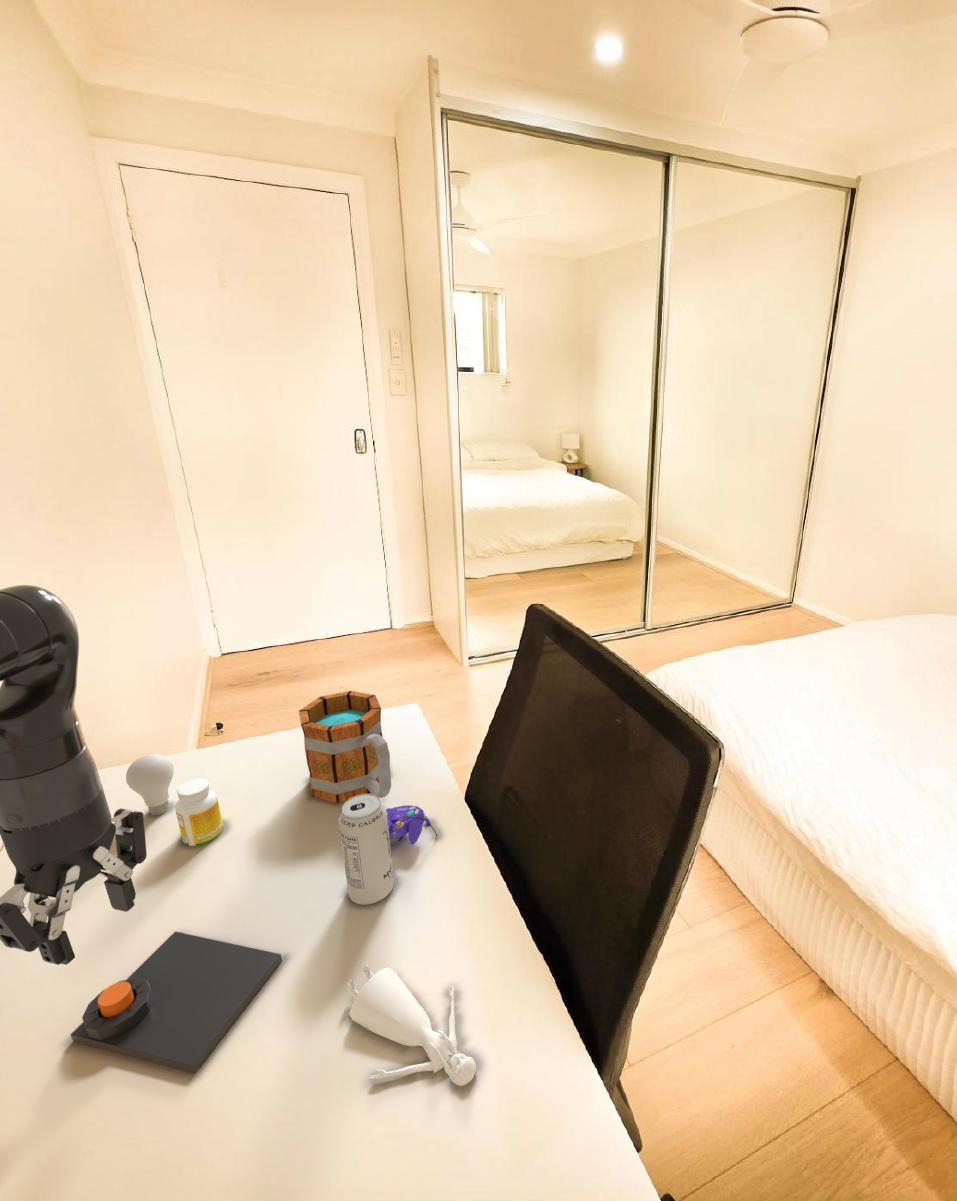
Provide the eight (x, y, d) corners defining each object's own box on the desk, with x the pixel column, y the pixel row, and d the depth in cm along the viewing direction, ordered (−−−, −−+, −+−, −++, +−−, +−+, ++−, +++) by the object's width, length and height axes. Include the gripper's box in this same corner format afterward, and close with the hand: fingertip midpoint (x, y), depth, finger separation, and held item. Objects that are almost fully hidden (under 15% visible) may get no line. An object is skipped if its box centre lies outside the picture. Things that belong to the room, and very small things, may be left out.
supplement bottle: (175, 849, 90) (162, 797, 86) (198, 825, 95) (186, 775, 91) (211, 850, 90) (198, 798, 86) (232, 826, 95) (221, 776, 92)
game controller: (346, 842, 87) (378, 790, 96) (372, 877, 91) (401, 823, 99) (403, 838, 84) (431, 784, 93) (427, 874, 88) (452, 819, 96)
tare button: (94, 1014, 63) (90, 1003, 62) (119, 990, 66) (115, 979, 65) (116, 1020, 63) (112, 1008, 62) (140, 995, 65) (137, 984, 65)
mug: (293, 785, 105) (281, 711, 100) (362, 752, 115) (354, 683, 110) (354, 835, 94) (343, 755, 89) (424, 794, 104) (419, 719, 99)
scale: (74, 1047, 63) (65, 1024, 62) (178, 942, 75) (172, 921, 74) (196, 1078, 60) (189, 1055, 59) (283, 965, 73) (279, 944, 71)
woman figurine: (397, 929, 73) (510, 1015, 64) (398, 954, 74) (508, 1042, 66) (310, 1007, 63) (429, 1120, 55) (313, 1034, 65) (430, 1148, 57)
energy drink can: (398, 899, 82) (389, 811, 77) (353, 916, 79) (340, 826, 74) (389, 870, 87) (380, 785, 82) (346, 885, 84) (333, 799, 79)
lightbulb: (174, 797, 101) (160, 742, 97) (189, 812, 97) (176, 755, 94) (131, 816, 96) (115, 759, 92) (146, 832, 93) (130, 773, 89)
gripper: (91, 749, 62) (128, 874, 68) (-79, 845, 49) (-16, 991, 55) (152, 759, 61) (184, 885, 67) (-6, 860, 48) (51, 1007, 53)
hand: (94, 932), depth 61 cm, fingers open, 5 cm apart
